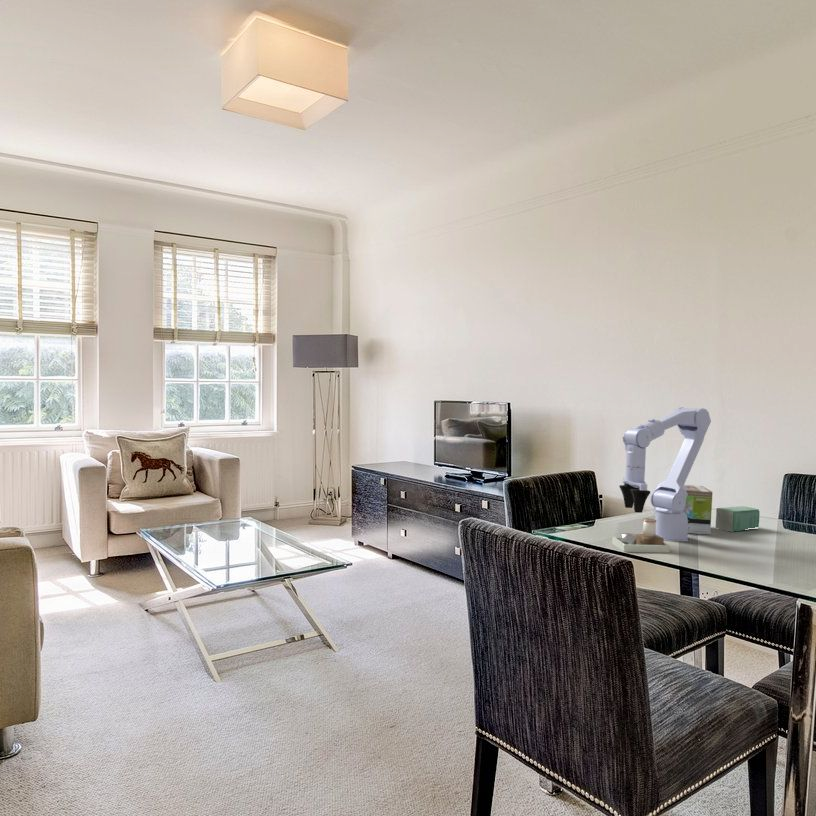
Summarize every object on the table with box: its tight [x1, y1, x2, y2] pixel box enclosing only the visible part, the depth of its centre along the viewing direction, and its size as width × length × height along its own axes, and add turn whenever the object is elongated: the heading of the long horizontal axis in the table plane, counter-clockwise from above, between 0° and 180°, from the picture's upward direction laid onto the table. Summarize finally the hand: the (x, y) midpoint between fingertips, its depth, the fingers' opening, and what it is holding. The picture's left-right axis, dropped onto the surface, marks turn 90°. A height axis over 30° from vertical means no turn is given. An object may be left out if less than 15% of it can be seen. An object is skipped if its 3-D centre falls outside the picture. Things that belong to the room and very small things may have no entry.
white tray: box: [611, 536, 671, 554], centre depth 205 cm, size 14×10×2 cm
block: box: [635, 533, 665, 545], centre depth 205 cm, size 6×6×4 cm
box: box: [715, 505, 760, 533], centre depth 238 cm, size 7×14×8 cm, turn 116°
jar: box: [642, 518, 656, 537], centre depth 205 cm, size 4×4×5 cm
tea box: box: [681, 484, 713, 535], centre depth 235 cm, size 15×10×15 cm, turn 168°
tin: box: [620, 532, 637, 545], centre depth 205 cm, size 4×4×4 cm
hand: (633, 510), depth 212 cm, fingers open, 7 cm apart
